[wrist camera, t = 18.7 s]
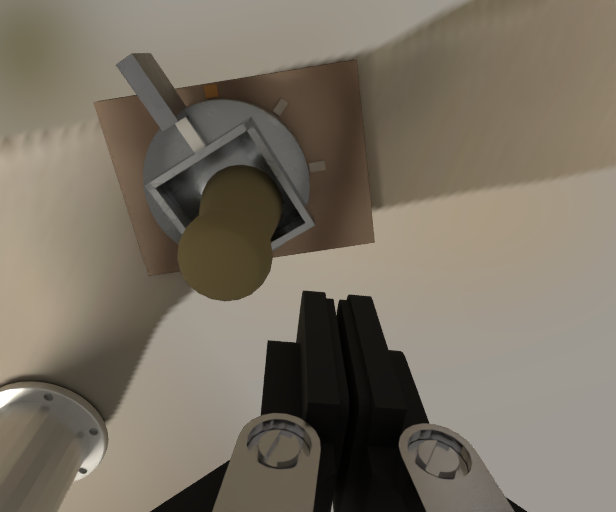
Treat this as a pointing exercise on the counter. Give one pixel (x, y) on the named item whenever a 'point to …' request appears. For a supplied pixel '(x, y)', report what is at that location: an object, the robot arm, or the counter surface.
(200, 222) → the cork
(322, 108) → the board
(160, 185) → the grey handled box
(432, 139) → the counter surface
